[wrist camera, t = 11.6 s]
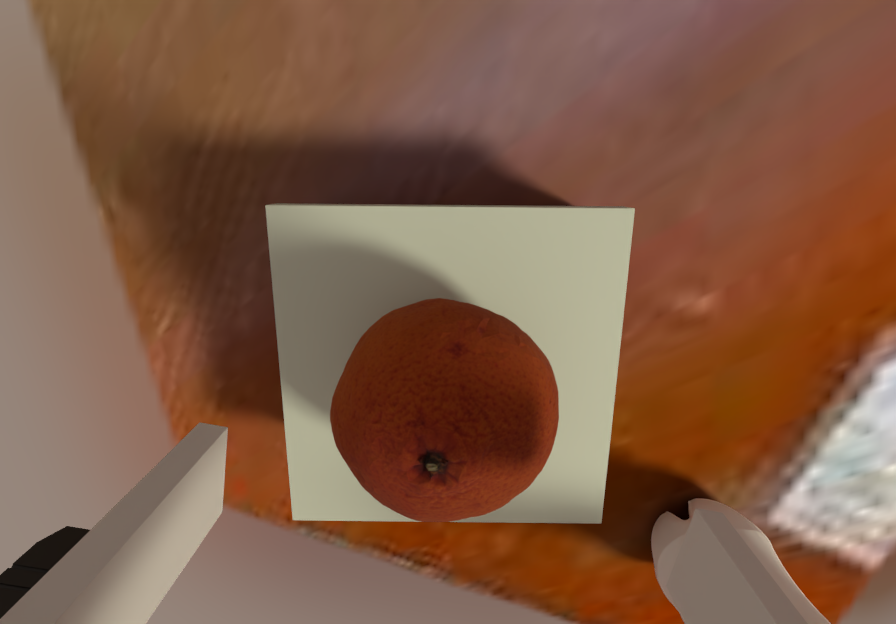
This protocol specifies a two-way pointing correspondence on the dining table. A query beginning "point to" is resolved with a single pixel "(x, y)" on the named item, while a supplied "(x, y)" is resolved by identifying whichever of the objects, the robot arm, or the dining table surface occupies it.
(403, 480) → the fruit
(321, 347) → the small white table
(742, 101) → the dining table surface
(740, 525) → the water bottle
